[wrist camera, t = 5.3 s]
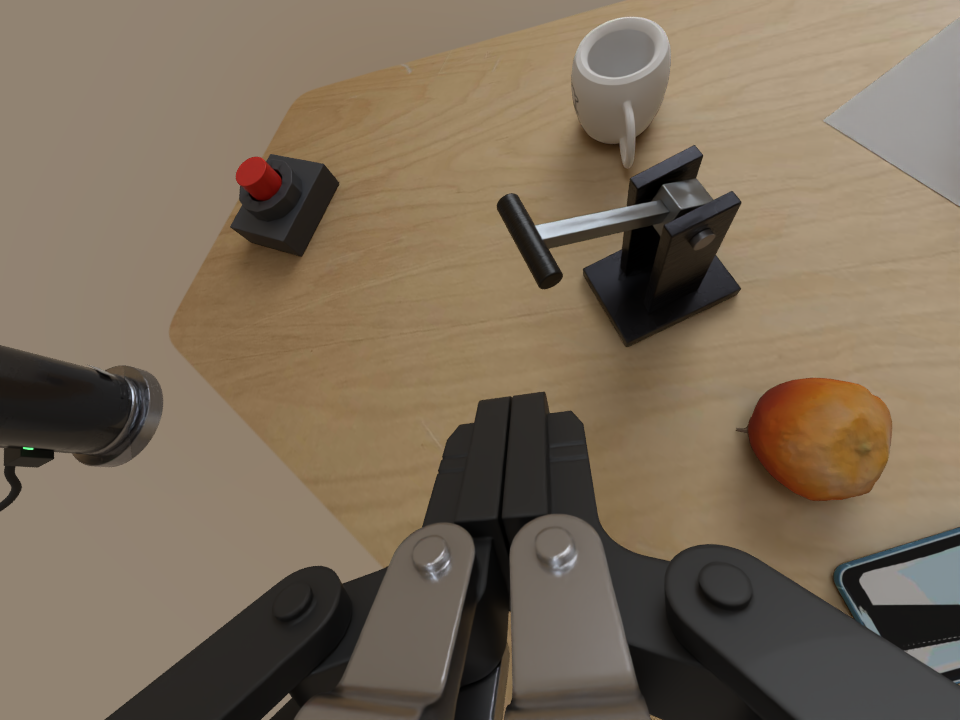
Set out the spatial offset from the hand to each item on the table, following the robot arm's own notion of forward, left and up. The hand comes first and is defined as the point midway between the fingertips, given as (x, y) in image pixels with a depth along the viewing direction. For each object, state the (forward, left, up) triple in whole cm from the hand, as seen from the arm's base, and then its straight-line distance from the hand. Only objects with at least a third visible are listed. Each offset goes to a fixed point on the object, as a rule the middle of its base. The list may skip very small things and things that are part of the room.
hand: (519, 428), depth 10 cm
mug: (+19, +28, -27) cm, 43 cm away
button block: (-16, +40, -27) cm, 51 cm away
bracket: (+14, +12, -27) cm, 33 cm away
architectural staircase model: (+46, +12, -27) cm, 55 cm away
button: (-16, +40, -23) cm, 49 cm away
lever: (+9, +12, -15) cm, 21 cm away
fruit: (+16, -4, -27) cm, 32 cm away
